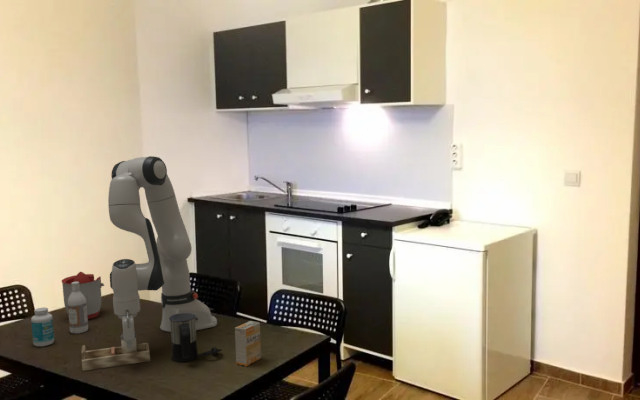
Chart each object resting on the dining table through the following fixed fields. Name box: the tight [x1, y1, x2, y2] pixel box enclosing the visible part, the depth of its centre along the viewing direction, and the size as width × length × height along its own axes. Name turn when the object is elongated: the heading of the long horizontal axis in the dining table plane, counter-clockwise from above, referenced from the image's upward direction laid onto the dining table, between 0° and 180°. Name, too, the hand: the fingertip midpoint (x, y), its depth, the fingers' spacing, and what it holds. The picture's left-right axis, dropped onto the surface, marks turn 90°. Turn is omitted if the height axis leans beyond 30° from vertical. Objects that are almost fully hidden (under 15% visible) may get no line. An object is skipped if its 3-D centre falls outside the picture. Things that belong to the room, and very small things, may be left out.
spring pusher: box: [110, 346, 115, 356], centre depth 215 cm, size 1×6×3 cm, turn 19°
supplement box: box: [234, 320, 262, 367], centre depth 211 cm, size 8×5×13 cm, turn 148°
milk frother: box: [169, 313, 222, 363], centre depth 217 cm, size 14×16×15 cm
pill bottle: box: [30, 307, 55, 347], centre depth 234 cm, size 8×7×14 cm
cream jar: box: [120, 332, 138, 354], centre depth 216 cm, size 5×5×7 cm
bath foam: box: [67, 282, 89, 334], centre depth 247 cm, size 7×7×20 cm
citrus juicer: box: [61, 271, 105, 320], centre depth 265 cm, size 16×17×20 cm
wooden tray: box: [80, 342, 151, 372], centre depth 215 cm, size 22×9×6 cm, turn 108°
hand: (129, 345), depth 216 cm, fingers closed on cream jar, 5 cm apart
